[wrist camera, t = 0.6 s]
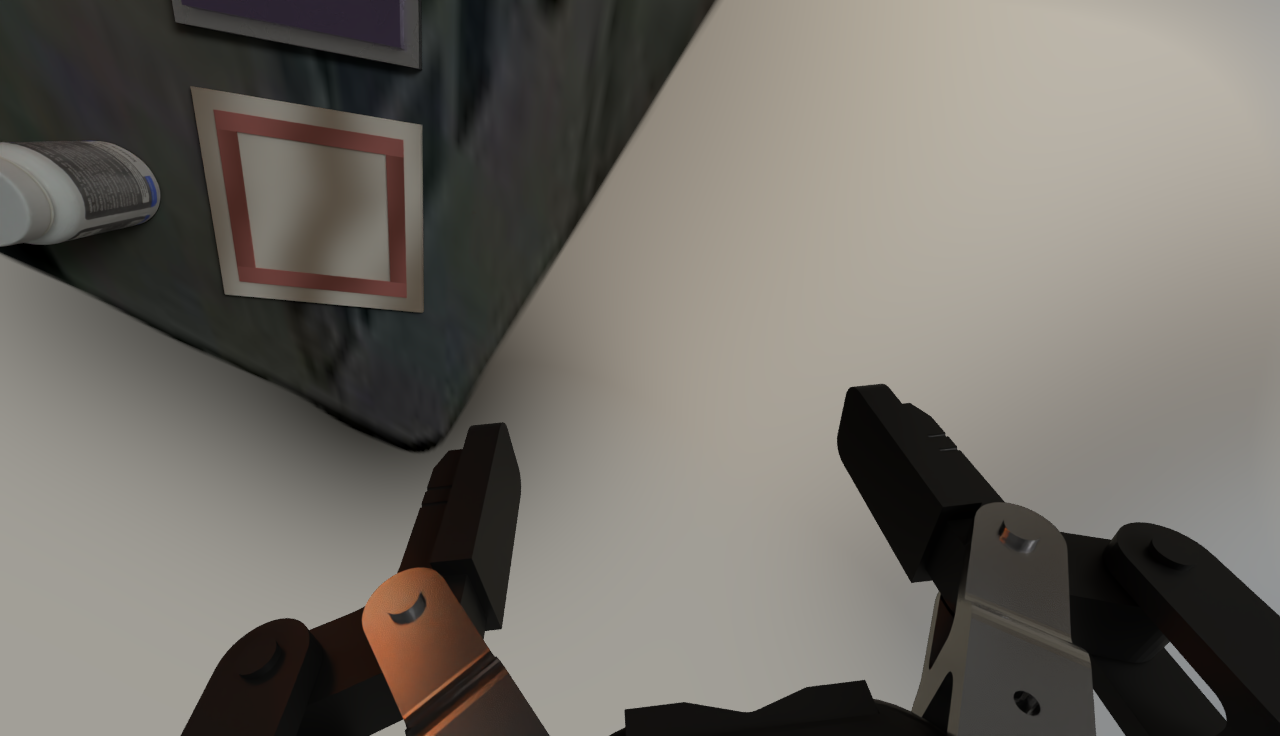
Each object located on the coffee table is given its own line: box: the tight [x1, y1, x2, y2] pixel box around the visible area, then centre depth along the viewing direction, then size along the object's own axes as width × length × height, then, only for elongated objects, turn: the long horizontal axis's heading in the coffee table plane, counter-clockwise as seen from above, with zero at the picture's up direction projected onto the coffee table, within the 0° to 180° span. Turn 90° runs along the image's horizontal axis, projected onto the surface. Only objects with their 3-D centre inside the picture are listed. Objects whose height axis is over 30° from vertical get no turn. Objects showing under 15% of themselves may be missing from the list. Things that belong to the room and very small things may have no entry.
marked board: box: [191, 86, 424, 313], centre depth 32 cm, size 12×12×1 cm
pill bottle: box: [0, 141, 160, 247], centre depth 26 cm, size 5×5×8 cm
